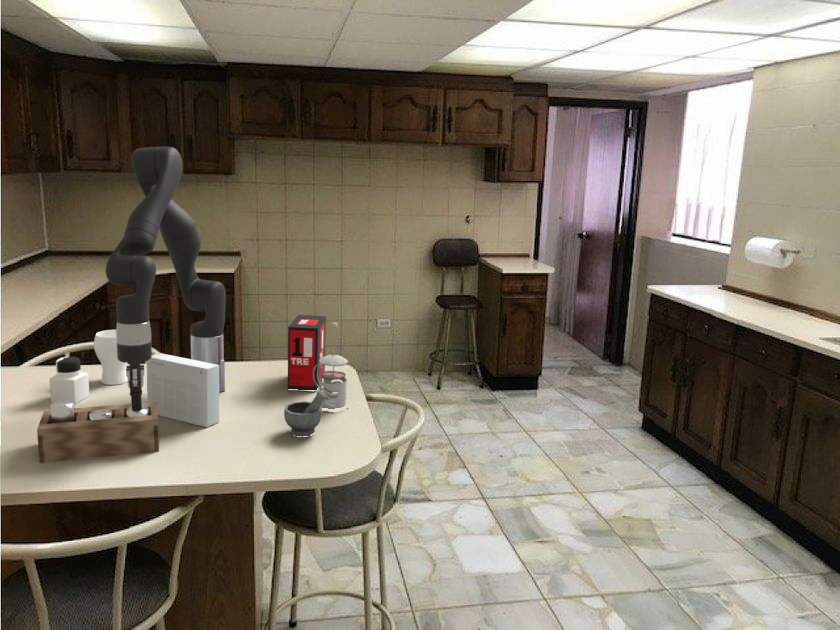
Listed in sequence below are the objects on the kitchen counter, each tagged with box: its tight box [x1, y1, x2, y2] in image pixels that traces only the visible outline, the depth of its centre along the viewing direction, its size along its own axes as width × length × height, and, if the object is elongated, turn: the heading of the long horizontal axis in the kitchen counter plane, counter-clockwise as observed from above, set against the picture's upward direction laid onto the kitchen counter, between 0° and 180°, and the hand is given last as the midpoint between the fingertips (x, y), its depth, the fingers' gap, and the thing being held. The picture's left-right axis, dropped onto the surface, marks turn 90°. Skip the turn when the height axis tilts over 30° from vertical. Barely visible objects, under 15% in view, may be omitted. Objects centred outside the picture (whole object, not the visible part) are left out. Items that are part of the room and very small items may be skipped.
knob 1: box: [49, 400, 75, 423], centre depth 158 cm, size 5×5×5 cm
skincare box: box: [146, 352, 220, 428], centre depth 181 cm, size 21×5×16 cm, turn 65°
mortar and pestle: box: [283, 390, 327, 437], centre depth 175 cm, size 11×9×12 cm
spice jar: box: [89, 409, 112, 420], centre depth 161 cm, size 5×5×5 cm
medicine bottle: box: [49, 356, 90, 405], centre depth 190 cm, size 7×7×12 cm
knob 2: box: [126, 406, 148, 417], centre depth 164 cm, size 5×5×5 cm
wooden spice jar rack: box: [36, 402, 160, 464], centre depth 162 cm, size 25×12×8 cm, turn 111°
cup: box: [93, 329, 128, 386], centre depth 206 cm, size 11×11×15 cm
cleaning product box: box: [287, 314, 327, 391], centre depth 214 cm, size 16×9×20 cm, turn 179°
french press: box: [313, 321, 349, 409], centre depth 194 cm, size 10×12×25 cm
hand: (136, 409), depth 163 cm, fingers closed
